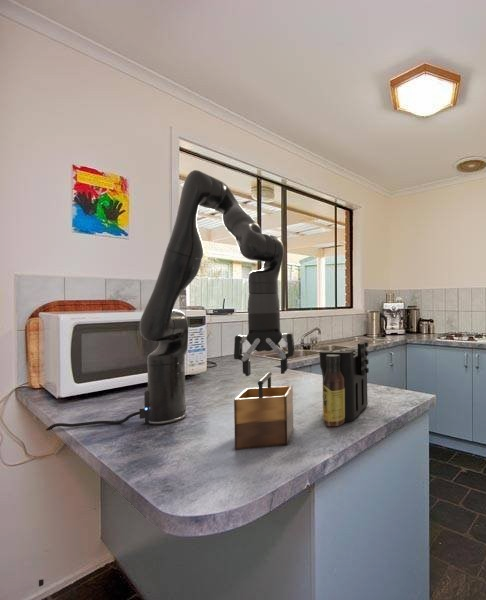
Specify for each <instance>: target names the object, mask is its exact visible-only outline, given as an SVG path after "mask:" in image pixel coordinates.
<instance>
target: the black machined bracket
mask: <svg viewBox="0 0 486 600" xmlns="http://www.w3.org/2000/svg"><path fill="white" fill-rule="evenodd" d="M367 348H369V341H361V342H358V343H357V348H348V349H343V350H342V349H341V350H339V351H338V350H337V351H333V350H320V351H319V352H318V355H319V367H320V370H321V375H322V381H323V380H324V377H325V374H326V371H327V360H326V355H328V354H336V355H340V357H341V359H340V371H341V373H342V375H343V377H344V387H345V418H344V423H345V424H346V423H350V422H353V421H354V420H355V419H356V418H357V417H358V416H359V415H360V414H361V413H362V412H363V411H364V410H365V408H366V407H367V406H368V403H369V402H368V400H369V399H368V373H369V372H370V369H369V367H368V365H369V362H370V359H368V356H369V350H368V349H367ZM344 423H343V424H344Z"/></svg>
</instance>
